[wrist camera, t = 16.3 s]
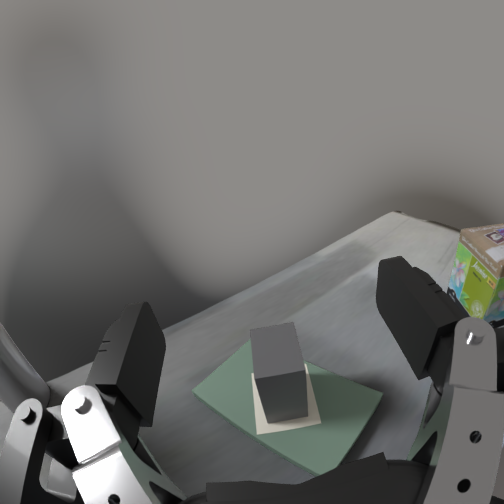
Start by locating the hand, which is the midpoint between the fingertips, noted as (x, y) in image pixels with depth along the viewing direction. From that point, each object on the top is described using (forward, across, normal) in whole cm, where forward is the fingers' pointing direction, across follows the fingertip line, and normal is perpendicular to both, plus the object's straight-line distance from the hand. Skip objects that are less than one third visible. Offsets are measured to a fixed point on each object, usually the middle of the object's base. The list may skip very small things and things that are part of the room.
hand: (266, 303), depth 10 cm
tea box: (+14, -34, +25) cm, 45 cm away
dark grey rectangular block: (+11, 0, +23) cm, 26 cm away
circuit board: (+11, 0, +25) cm, 27 cm away
